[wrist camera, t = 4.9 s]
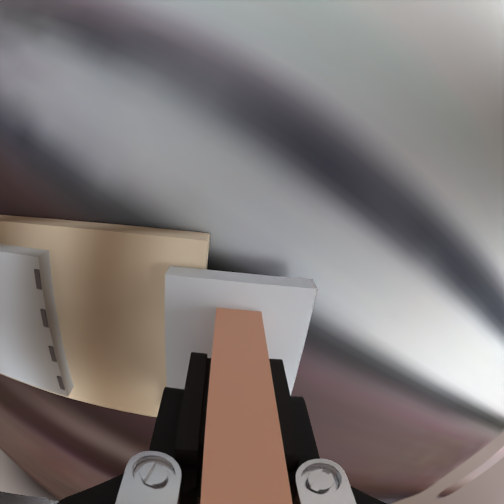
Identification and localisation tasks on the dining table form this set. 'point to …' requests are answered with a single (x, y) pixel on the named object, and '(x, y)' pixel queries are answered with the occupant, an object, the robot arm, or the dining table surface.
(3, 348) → the ticket board
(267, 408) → the tan and white stand
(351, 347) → the dining table surface
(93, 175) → the dining table surface
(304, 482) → the robot arm
